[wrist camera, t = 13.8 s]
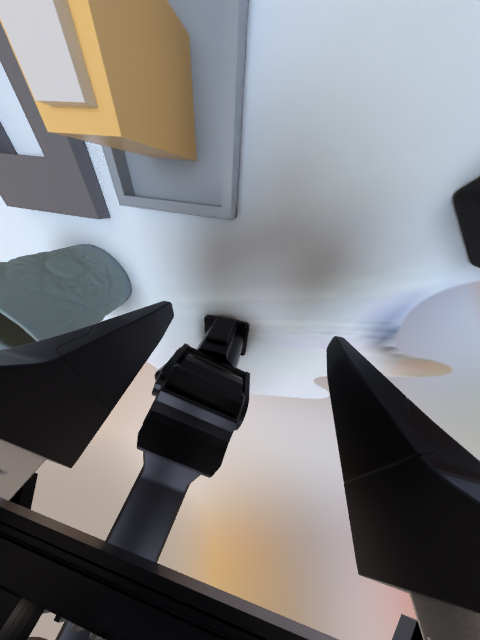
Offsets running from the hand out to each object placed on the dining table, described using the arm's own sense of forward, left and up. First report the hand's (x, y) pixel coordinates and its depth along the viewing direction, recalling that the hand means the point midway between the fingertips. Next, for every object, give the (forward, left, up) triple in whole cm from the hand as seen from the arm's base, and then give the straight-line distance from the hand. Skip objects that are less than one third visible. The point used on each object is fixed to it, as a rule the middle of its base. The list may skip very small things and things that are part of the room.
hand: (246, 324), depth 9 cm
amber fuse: (+10, +9, -10) cm, 17 cm away
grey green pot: (-6, +23, -11) cm, 26 cm away
